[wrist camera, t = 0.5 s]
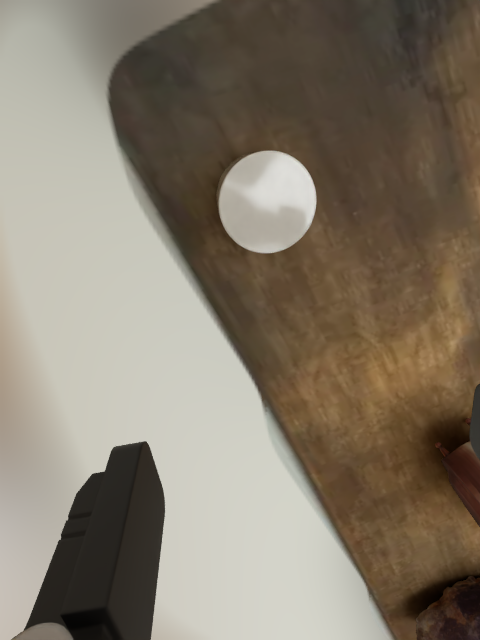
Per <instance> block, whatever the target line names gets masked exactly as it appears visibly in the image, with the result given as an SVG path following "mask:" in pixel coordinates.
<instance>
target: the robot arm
mask: <svg viewBox="0 0 480 640" xmlns="http://www.w3.org/2000/svg"><path fill="white" fill-rule="evenodd" d="M469 435H470V442H471V445H472V448H473V450H474V452H475V454H476V456H477V457H478V459H479V460H480V384H479V385H477V387H476V389H475V393H474V401H473V409H472V417H471V425H470V434H469ZM164 516H165V500H164V493H163V488H162V484H161V481H160V478H159V475H158V472H157V469H156V466H155V462H154V460H153V456H152V453H151V450H150V447H149V445H148V443H147V442H139V443H134V444H128V445H122V446H116V447H114V448H113V449H112V451H111V454H110V457H109V460H108V463H107V466H106V470H105V472H100V473H94V474H92V475H91V476H90V478H89V479H88V480H87V481H86V483H85V484H84V485H83V486H82V488H81V489H80V491H78V493H77V494H76V497H75V499H74V502H73V505H72V507H71V510H70V512H69V515H68V521H66V523H65V526H64V528H63V531H62V534H61V540H59V541H58V545H57V547H56V550H55V552H54V555H53V557H52V560H51V563H50V565H49V568H48V571H47V573H46V576H45V578H44V581H43V584H42V587H41V589H40V592H39V594H38V597H37V600H36V602H35V605H34V608H33V610H32V613H31V616H30V618H29V620H28V623H27V625H26V627H25V629H24V631H23V632H21V633H20V634H18V635H17V636H15V637H14V638H13V639H11V640H150V639H151V631H152V623H153V614H154V605H155V596H156V587H157V578H158V570H159V560H160V551H161V543H162V534H163V525H164Z"/></svg>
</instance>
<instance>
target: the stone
mask: <svg viewBox="0 0 480 640" xmlns="http://www.w3.org/2000/svg"><path fill="white" fill-rule="evenodd" d="M216 203H217V209H218V212H219V216H220V219H221V221H222V224H223V226H224V228H225V230H226V232H227V233H228V235H229V236H230V237H231V238H232V239H233V240H234V241H235V242H236V243H237V244H238V245H240V246H241V247H243V248H245V249H247V250H249V251H253V252H256V253H275V252H279V251H282V250H285V249H287V248H289V247H290V246H292V245H293V244H295V243H296V242H297V241H298V240H300V239H301V238H302V236H303V235H304V234H305V233H306V231H307V230H308V228H309V227H310V225H311V223H312V220H313V218H314V214H315V210H316V190H315V186H314V183H313V180H312V178H311V176H310V174H309V172H308V171H307V169H306V168H305V167H304V166H303V165H302V164H301V163H300V162H299V161H298V160H297V159H295V158H294V157H292V156H290V155H288V154H286V153H283V152H279V151H271V150H267V151H259V152H253V153H248V154H245V155H243V156H241V157H239V158H237V159H236V160H234V161H233V162H232V163H231V164H230V165H229V166H228V167H227V168H226V170H225V171H224V172H223V174H222V176H221V178H220V180H219V183H218V187H217V192H216Z"/></svg>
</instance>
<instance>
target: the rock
mask: <svg viewBox="0 0 480 640" xmlns="http://www.w3.org/2000/svg"><path fill="white" fill-rule="evenodd" d="M416 621H417V625H416V634H417V640H480V578H477V579H475V578H474V577H473V576H471V577H468V578H467V580H464V581H461V582H460V581H458V582H457V583H456V584H454V586H452V587H451V588H450V587H447V588H446V589H445V590H444V592H443V596H442V597H441V598H440V600H439V601H436V602H434V603H432V604H431V605H429V607H428V608H427V609H426V610H424V611H423V612H421V613H420V614H419V616H418V617H417V618H416Z"/></svg>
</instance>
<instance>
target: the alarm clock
mask: <svg viewBox="0 0 480 640" xmlns="http://www.w3.org/2000/svg"><path fill="white" fill-rule="evenodd" d="M465 422H466V423H467V424H468V425H471V419H470V418H467V419H466V420H465ZM435 446H436V447H437V448H439V449H440V451H441V452H442V453H443V455H444V456H445V458H443V459H441V461H442V463H443V466H444V467H445V469H446V471H447V472H448V476H449V482H450V484H451V485H452V487H453V489H454V490H455V492H456V493H457V495H458V496H459V498H460V499H461V501H462V502H463V504H464V505H465V507H466V508H467V510H468V511H469V512H470V514H471V515H472V517H473V518H474V520H475V521H476V522H477V524H478V525H479V527H480V460H479V459H478V457H477V456H476V454H475V452H474V450H473V448H472V445H471V442H470V441H469V442H467V443H465V444H463V445H461V446H460V447H459V448H457V449H456V450H454V451H453V452H452V453H450V452H448V451H447V450H446V449H445V448H444V447H442V444H441V443H439V442H437V443H436V444H435Z"/></svg>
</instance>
